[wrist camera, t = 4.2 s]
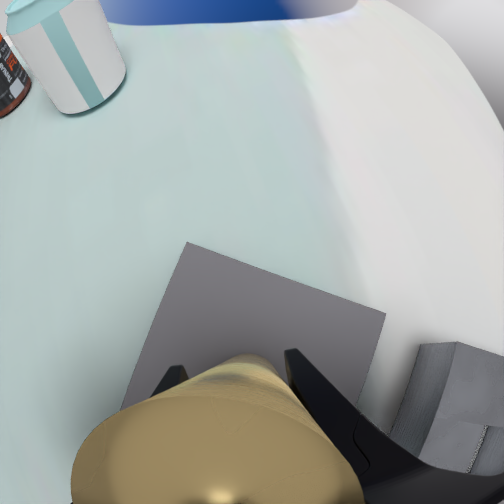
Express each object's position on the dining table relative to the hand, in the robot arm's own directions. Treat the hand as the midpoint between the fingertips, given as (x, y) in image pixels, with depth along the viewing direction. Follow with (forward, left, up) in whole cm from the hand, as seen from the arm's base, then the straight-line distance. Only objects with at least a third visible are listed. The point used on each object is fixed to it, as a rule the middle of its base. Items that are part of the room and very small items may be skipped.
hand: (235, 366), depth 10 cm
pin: (-1, -1, -7) cm, 7 cm away
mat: (-2, -1, -7) cm, 7 cm away
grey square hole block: (-2, -16, -7) cm, 17 cm away
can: (+15, +20, -7) cm, 26 cm away
